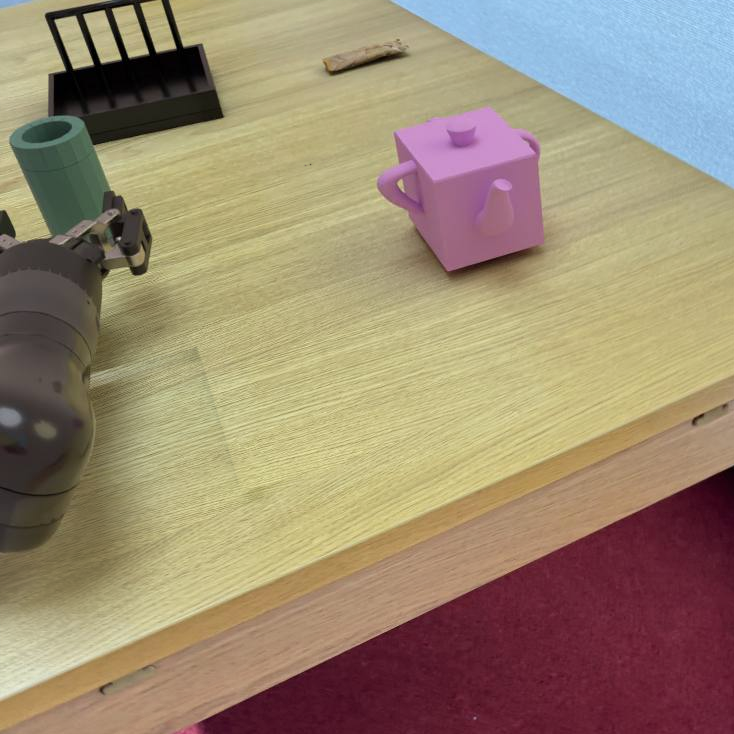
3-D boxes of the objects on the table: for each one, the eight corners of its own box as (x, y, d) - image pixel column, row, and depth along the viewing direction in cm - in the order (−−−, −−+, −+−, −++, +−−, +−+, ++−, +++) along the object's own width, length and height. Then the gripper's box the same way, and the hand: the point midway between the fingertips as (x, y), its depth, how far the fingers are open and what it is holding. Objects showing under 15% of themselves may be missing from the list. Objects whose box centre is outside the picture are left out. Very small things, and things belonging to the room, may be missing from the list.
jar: (61, 270, 91) (7, 154, 84) (60, 237, 95) (10, 124, 88) (130, 254, 92) (84, 138, 85) (127, 222, 96) (83, 109, 89)
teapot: (592, 272, 84) (587, 151, 77) (430, 321, 81) (408, 200, 74) (509, 180, 96) (497, 68, 89) (365, 220, 93) (340, 107, 86)
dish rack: (59, 151, 108) (20, 58, 101) (59, 100, 118) (23, 12, 111) (223, 117, 111) (196, 24, 104) (210, 69, 121) (184, -19, 114)
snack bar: (329, 70, 116) (319, 52, 117) (330, 81, 117) (321, 63, 118) (409, 47, 118) (399, 30, 119) (410, 58, 119) (400, 41, 121)
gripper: (124, 252, 72) (132, 150, 83) (-91, 293, 70) (-54, 183, 81) (161, 343, 77) (164, 236, 88) (-38, 383, 76) (-10, 268, 87)
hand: (59, 211), depth 85 cm, fingers open, 8 cm apart
